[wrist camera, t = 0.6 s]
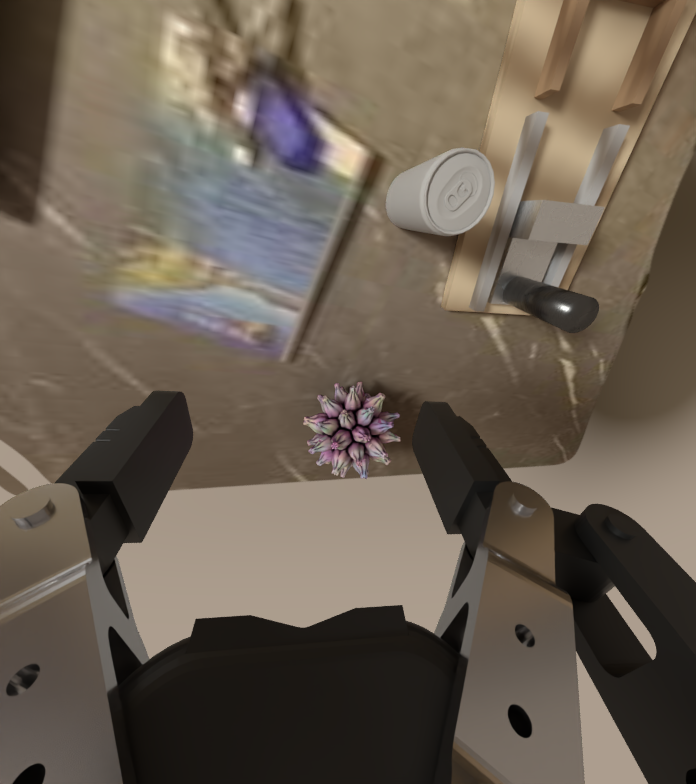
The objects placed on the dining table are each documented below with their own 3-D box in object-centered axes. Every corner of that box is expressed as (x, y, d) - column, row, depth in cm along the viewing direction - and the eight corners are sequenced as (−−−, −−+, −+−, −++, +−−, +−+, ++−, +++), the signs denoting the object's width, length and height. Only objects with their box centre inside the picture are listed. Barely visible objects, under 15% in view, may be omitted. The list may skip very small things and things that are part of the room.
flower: (340, 447, 45) (347, 515, 35) (287, 396, 39) (277, 460, 29) (403, 408, 42) (431, 470, 32) (357, 347, 36) (372, 399, 26)
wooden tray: (524, -31, 21) (558, -70, 18) (683, 4, 23) (737, -26, 20) (440, 306, 34) (452, 315, 31) (546, 313, 36) (567, 322, 33)
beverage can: (441, 201, 29) (510, 194, 19) (404, 240, 30) (450, 253, 20) (412, 157, 27) (471, 122, 17) (374, 201, 28) (407, 194, 18)
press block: (515, 201, 28) (600, 196, 19) (570, 207, 29) (675, 205, 20) (482, 301, 33) (540, 331, 24) (531, 304, 33) (602, 334, 25)
